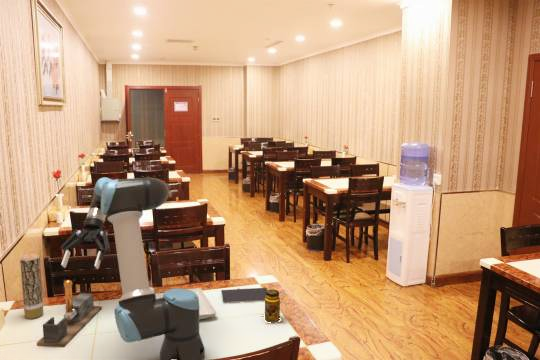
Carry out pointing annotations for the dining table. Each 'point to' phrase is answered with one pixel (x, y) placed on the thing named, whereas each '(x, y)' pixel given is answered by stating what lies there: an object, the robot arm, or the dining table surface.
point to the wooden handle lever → (69, 301)
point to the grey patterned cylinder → (31, 285)
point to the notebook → (244, 295)
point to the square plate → (205, 306)
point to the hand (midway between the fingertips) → (79, 266)
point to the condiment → (272, 306)
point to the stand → (69, 323)
